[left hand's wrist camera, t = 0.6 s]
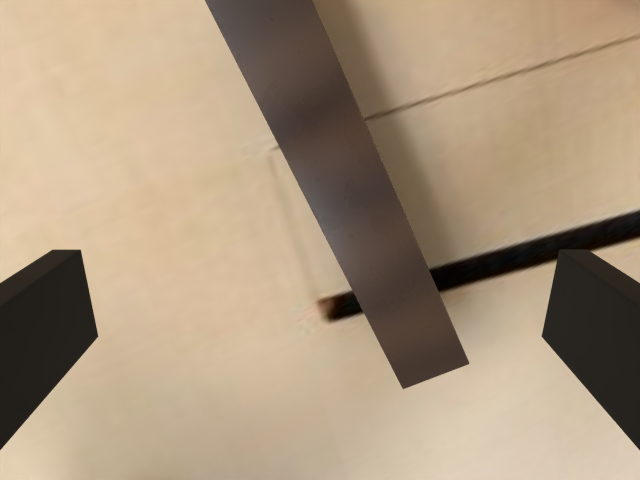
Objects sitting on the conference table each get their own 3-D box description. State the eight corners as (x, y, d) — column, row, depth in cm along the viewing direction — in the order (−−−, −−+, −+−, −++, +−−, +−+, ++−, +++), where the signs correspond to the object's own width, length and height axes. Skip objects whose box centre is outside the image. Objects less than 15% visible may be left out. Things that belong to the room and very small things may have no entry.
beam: (440, 307, 38) (469, 364, 30) (387, 329, 39) (402, 389, 31) (294, -27, 29) (284, -63, 22) (228, 9, 30) (198, -13, 22)
